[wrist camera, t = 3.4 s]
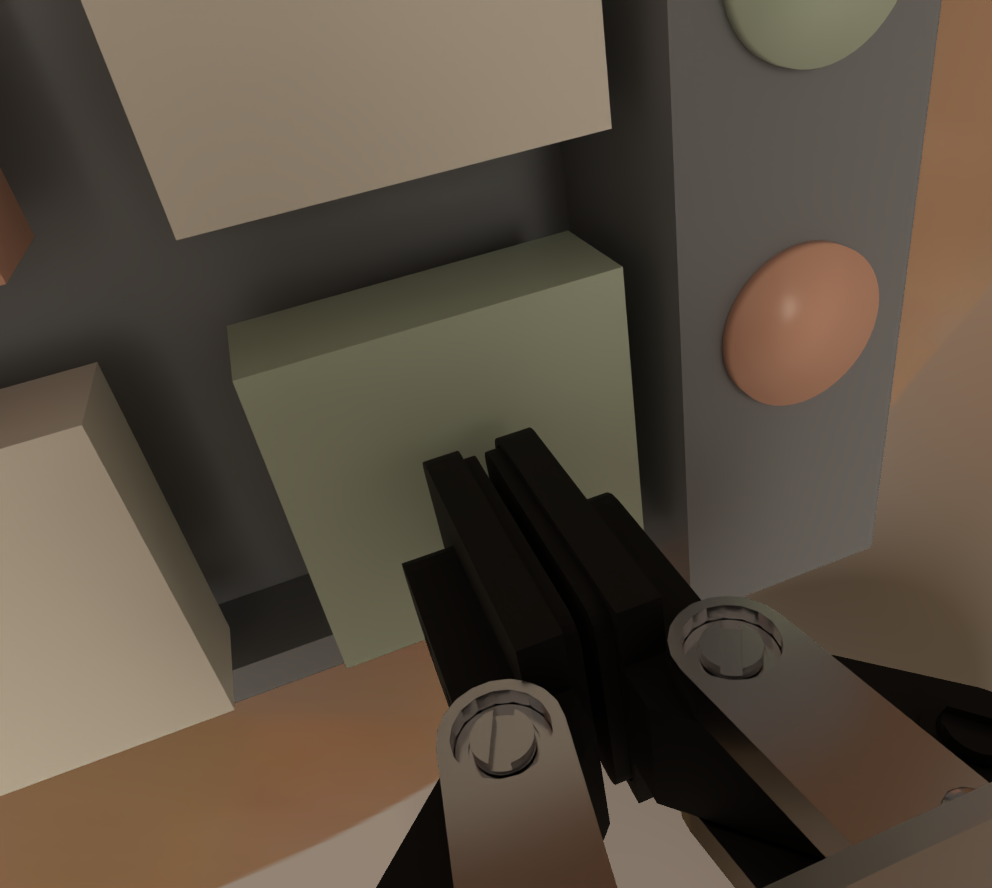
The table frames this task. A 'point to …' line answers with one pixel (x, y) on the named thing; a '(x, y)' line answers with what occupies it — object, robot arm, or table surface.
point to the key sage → (432, 409)
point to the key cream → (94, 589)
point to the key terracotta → (11, 231)
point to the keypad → (504, 223)
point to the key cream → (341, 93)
